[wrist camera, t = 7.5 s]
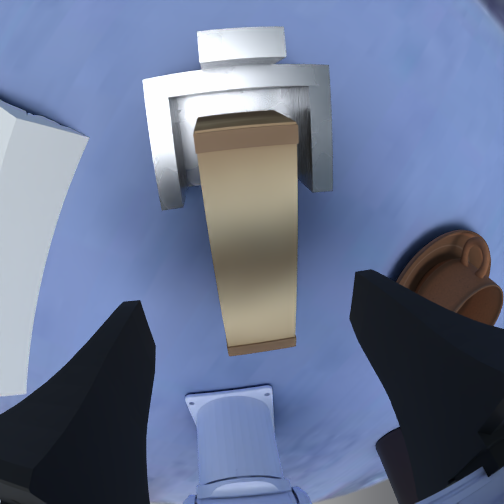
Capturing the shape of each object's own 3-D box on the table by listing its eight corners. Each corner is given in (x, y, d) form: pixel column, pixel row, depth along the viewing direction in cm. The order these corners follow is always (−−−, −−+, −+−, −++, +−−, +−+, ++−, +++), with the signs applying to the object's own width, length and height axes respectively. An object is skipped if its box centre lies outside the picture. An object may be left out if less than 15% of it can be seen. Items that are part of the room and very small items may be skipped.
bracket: (306, 170, 18) (353, 207, 12) (172, 185, 18) (153, 231, 12) (299, 53, 15) (348, 30, 9) (157, 65, 14) (126, 44, 8)
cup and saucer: (370, 251, 22) (413, 299, 16) (480, 204, 21) (530, 233, 16) (380, 353, 27) (407, 399, 22) (472, 304, 27) (505, 339, 21)
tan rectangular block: (280, 299, 22) (295, 347, 18) (223, 307, 22) (229, 357, 18) (274, 109, 15) (298, 122, 11) (196, 117, 15) (192, 132, 11)
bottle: (366, 448, 38) (406, 551, 21) (396, 424, 36) (446, 533, 18) (392, 446, 40) (431, 538, 23) (420, 423, 38) (467, 519, 20)
